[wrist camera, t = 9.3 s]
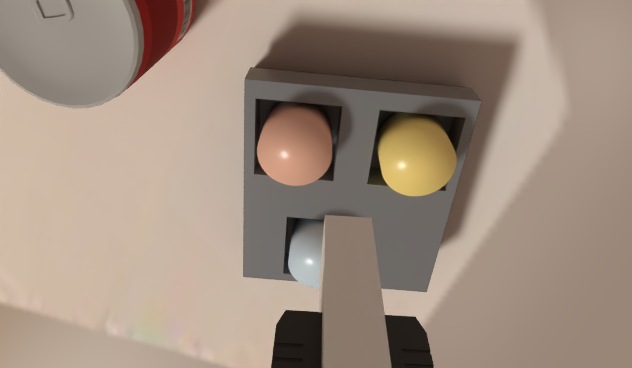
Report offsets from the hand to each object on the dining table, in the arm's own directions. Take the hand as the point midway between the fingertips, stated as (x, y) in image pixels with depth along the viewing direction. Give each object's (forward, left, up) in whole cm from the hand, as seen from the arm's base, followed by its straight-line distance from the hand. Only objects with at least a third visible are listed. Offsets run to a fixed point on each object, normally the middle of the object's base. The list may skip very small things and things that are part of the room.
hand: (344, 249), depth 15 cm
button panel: (+8, +2, -20) cm, 22 cm away
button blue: (+13, 0, -18) cm, 22 cm away
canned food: (-4, -13, -20) cm, 24 cm away
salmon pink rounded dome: (+4, -2, -18) cm, 18 cm away
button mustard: (+4, +6, -18) cm, 19 cm away
